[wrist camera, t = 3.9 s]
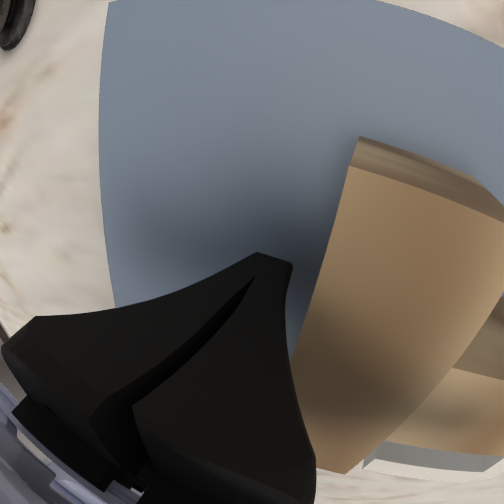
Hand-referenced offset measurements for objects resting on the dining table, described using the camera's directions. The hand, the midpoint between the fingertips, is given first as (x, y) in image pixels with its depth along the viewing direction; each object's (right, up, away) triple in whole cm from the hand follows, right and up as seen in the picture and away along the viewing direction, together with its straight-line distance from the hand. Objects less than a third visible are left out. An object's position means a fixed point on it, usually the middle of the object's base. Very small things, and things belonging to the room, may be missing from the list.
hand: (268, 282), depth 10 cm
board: (+4, -1, 0) cm, 4 cm away
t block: (+7, -2, -1) cm, 7 cm away
